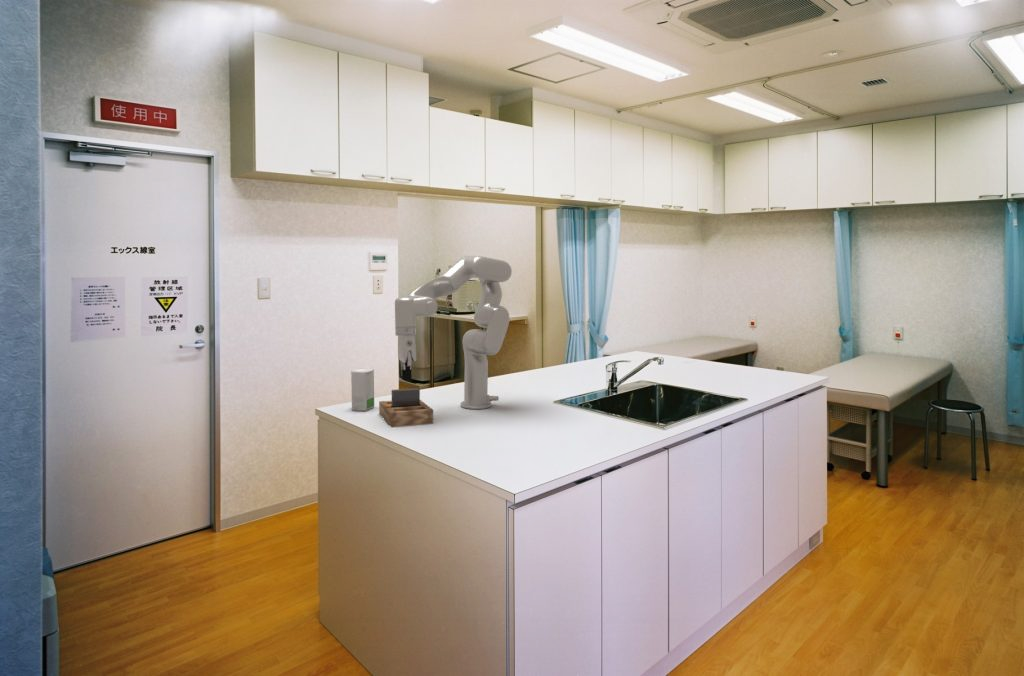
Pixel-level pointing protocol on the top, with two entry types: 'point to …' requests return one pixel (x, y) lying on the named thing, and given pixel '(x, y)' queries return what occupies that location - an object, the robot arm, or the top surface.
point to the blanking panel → (405, 397)
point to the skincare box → (362, 389)
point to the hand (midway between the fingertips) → (406, 380)
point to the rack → (405, 414)
